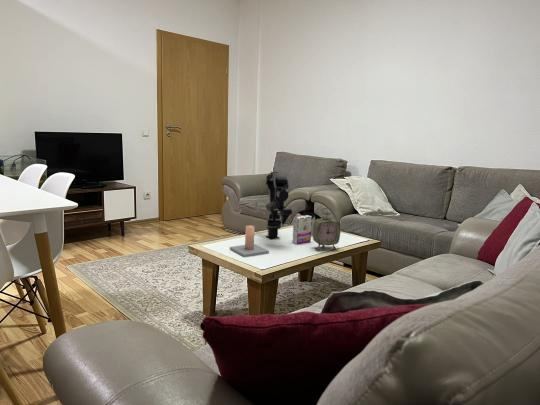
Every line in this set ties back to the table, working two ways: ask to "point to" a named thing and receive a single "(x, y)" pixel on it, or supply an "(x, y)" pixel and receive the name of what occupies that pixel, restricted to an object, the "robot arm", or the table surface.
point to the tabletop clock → (326, 230)
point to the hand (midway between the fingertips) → (278, 223)
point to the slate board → (247, 253)
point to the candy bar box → (302, 229)
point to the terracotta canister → (249, 237)
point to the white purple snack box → (312, 219)
